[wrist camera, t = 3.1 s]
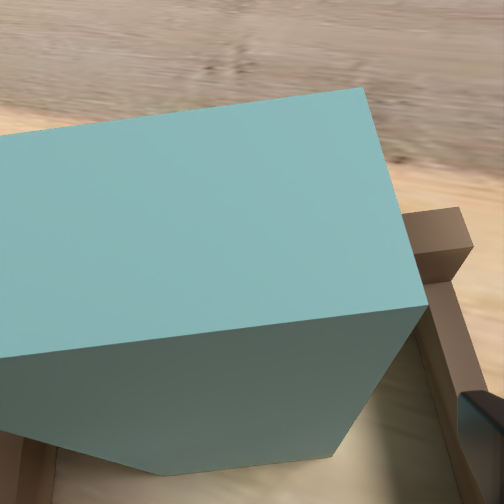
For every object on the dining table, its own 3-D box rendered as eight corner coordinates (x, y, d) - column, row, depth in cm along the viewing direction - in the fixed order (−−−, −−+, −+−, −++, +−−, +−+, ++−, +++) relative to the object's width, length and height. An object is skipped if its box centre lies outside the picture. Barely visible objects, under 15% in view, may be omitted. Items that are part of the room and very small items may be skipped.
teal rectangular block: (163, 476, 17) (-176, 379, 5) (163, 391, 18) (-100, 148, 6) (331, 456, 17) (428, 304, 5) (317, 372, 18) (362, 86, 6)
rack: (-6, 753, 14) (-145, 864, 9) (45, 322, 20) (-24, 268, 16) (552, 694, 13) (676, 780, 9) (423, 274, 20) (459, 206, 16)
